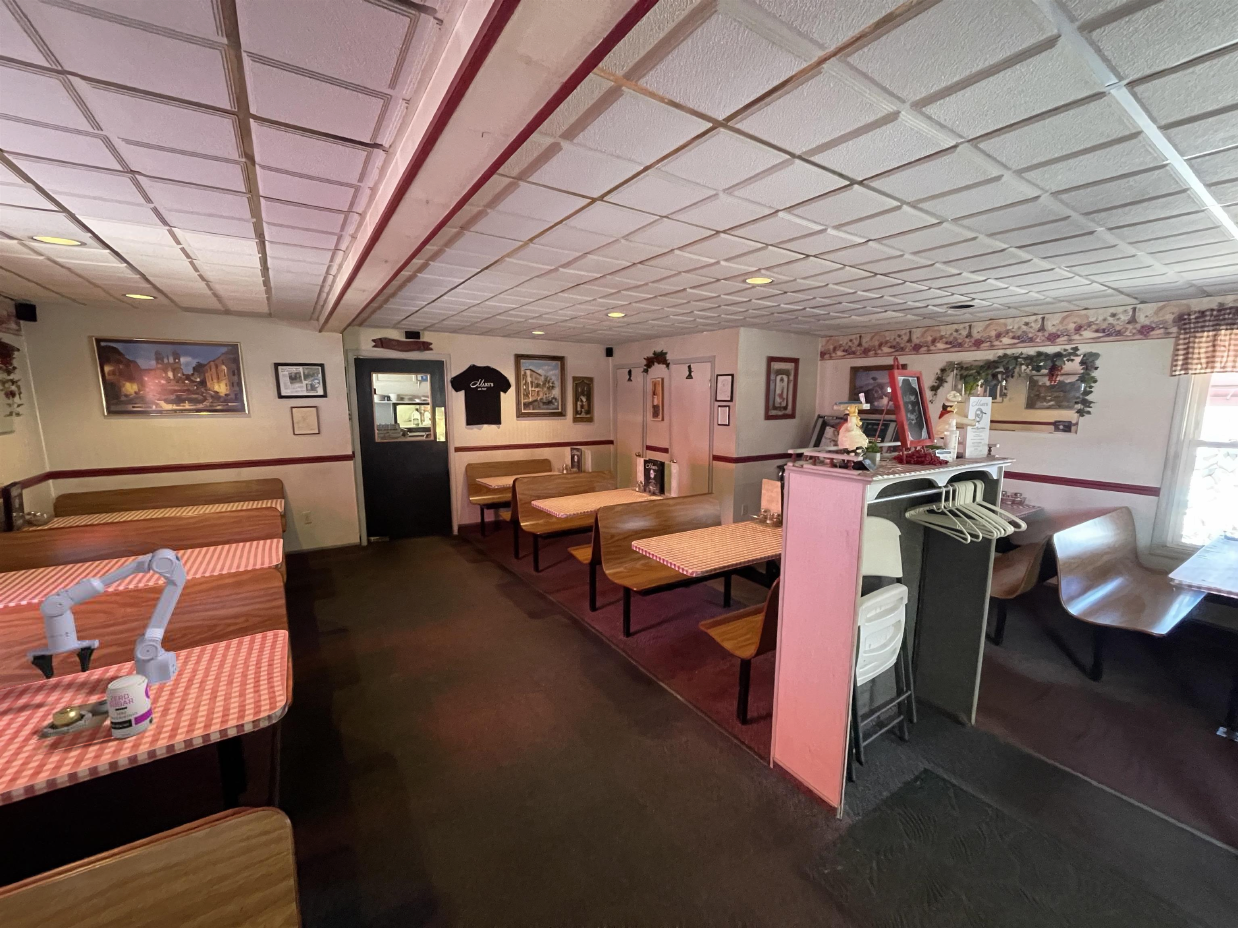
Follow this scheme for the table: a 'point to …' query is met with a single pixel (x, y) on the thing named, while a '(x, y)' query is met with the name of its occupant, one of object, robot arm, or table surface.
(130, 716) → the supplement can
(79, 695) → the table surface
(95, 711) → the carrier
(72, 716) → the brass knob
